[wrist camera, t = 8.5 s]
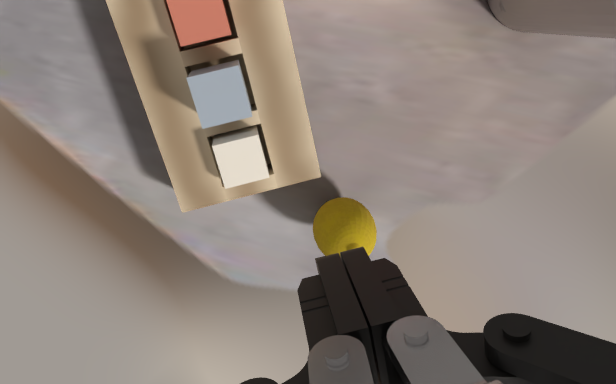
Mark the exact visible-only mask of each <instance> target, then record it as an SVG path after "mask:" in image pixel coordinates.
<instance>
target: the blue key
mask: <svg viewBox="0 0 616 384" xmlns="http://www.w3.org/2000/svg"><path fill="white" fill-rule="evenodd" d="M186 79H187V82H188V85H189V88H190V91H191V94H192V98H193V101H194V104H195V107H196V110H197V113H198V117H199V120H200V123H201V126H202V129H205V128H209V127H213V126H217V125H221V124H225V123H229V122H233V121H237V120H241V119H245V118H249V117H252V110H251V104H250V101H249V97H248V93H247V89H246V86H245V82H244V78H243V74H242V71H241V67H240V63H239V60H235V61H231V62H226V63H222V64H218V65H214V66H210V67H206V68H201V69H197V70H193V71H191V72H190V74H189V75H188V76H187V78H186Z"/></svg>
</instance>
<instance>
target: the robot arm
mask: <svg viewBox="0 0 616 384" xmlns="http://www.w3.org/2000/svg"><path fill="white" fill-rule="evenodd" d="M487 1H488V3H489V6H490V9H491V11H492V12H493V14H494V15H495V17H496V18H497V19H498V20H499V21H500V22H501V23H502V24H503V25H505V26H506V27H508V28H510V29H512V30H516V31H520V32H529V33H544V34H556V35H571V36H585V37H600V38H615V39H616V0H487ZM315 260H316V265H317V269H318V273H319V275H316V276H312V277H308V278H304V279H302V281H301V283H300V286H299V288H298V295H299V300H300V305H301V310H302V315H303V320H304V325H305V330H306V335H307V340H308V345H309V356H308V361H307V363H306V365H305V366H304V367H303V369H302V370H301V371H300V372H299V373H298V374H297V375H295V376H294V377H292V378H291V379H289V380H287V381H286V382H284V383H282V384H616V344H615V343H612V342H609V341H605V340H602V339H599V338H596V337H593V336H590V335H587V334H584V333H581V332H577V331H574V330H571V329H568V328H565V327H562V326H559V325H555V324H552V323H549V322H546V321H543V320H540V319H537V318H533V317H530V316H527V315H523V314H515V313H508V314H501V315H498V316H496V317H493V318H492V319H490V320H489V321H488V322H487V323H486V325H485V326H484V331H483V333H458V332H451V331H448V330H446V329H445V328H444V327H443V326H442V325H441V324H440V323H439V322H438V321H436V320H435V319H433V318H430V317H428V316H427V314H426V313H425V311H424V309H423V308H422V306H421V304H420V303H419V301H418V300H417V298H416V296H415V295H414V293H413V292H412V290H411V288H410V287H409V286H408V283H407V281H406V280H405V278H403V275H402V274H401V272H400V270H399V268H398V267H397V265H395V264H394V263H392V262H390V261H389V260H387V259H385V258H383V259H379V260H375V261H371V260H370V258H369V256H368V254H367V252H366V250H365V248H364V247H359V248H355V249H351V250H347V251H343V252H340V255H339V253H335V254H331V255H327V256H323V257H319V258H315ZM241 384H278V383H277V382H275V381H274V380H271V379H268V378H253V379H250V380H247V381H244V382H242V383H241Z"/></svg>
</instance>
